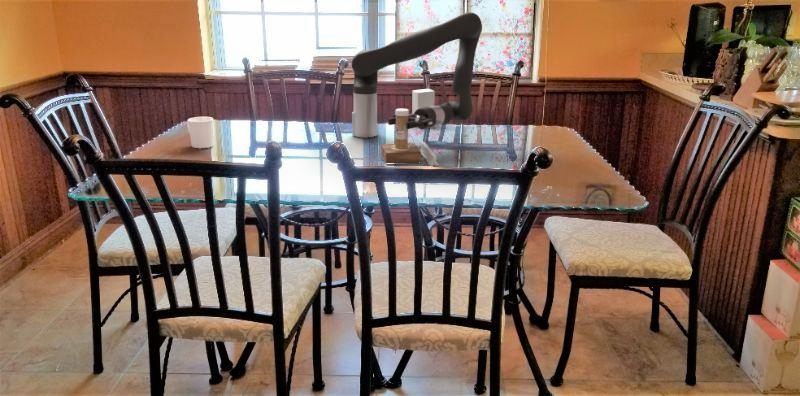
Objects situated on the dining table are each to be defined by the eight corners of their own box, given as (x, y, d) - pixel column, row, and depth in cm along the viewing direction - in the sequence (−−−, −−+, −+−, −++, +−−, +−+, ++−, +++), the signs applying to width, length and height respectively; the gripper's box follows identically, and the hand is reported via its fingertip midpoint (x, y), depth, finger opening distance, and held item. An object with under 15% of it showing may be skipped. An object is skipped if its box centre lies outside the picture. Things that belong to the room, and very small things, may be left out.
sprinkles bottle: (392, 147, 220) (392, 109, 216) (400, 145, 223) (401, 107, 219) (402, 150, 217) (403, 111, 213) (410, 147, 221) (411, 109, 216)
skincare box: (428, 122, 278) (429, 88, 273) (434, 125, 273) (435, 90, 268) (411, 123, 275) (411, 89, 270) (417, 126, 270) (418, 91, 265)
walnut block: (381, 155, 226) (381, 143, 225) (414, 154, 228) (414, 142, 227) (386, 164, 215) (386, 152, 214) (420, 163, 217) (421, 151, 216)
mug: (220, 145, 238) (218, 118, 235) (204, 150, 230) (201, 122, 227) (197, 141, 242) (195, 115, 239) (181, 147, 235) (178, 119, 231)
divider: (418, 150, 233) (418, 141, 231) (426, 150, 233) (426, 141, 232) (430, 166, 214) (430, 156, 213) (438, 165, 214) (438, 155, 213)
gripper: (415, 103, 231) (383, 110, 220) (444, 109, 222) (413, 116, 211) (414, 124, 234) (383, 131, 223) (444, 130, 224) (412, 138, 213)
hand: (397, 124), depth 217 cm, fingers open, 8 cm apart
